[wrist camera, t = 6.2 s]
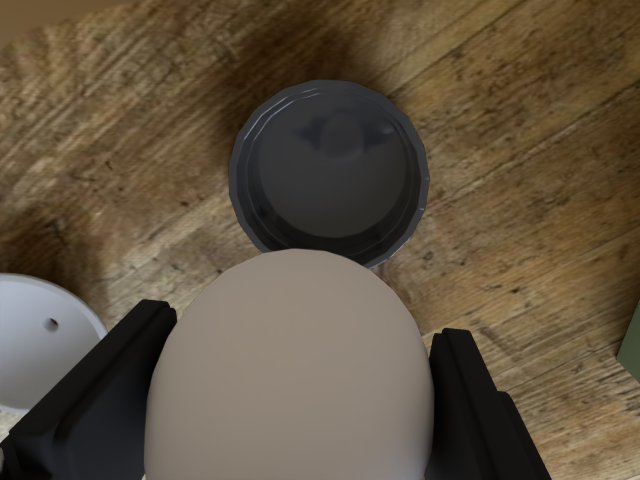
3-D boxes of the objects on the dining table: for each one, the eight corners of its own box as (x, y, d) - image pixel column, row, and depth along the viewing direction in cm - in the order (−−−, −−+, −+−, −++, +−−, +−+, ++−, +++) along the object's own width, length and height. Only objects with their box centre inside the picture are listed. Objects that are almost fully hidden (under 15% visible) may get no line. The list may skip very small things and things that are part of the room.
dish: (93, 227, 35) (53, 248, 30) (168, 355, 39) (143, 391, 34) (-58, 280, 38) (-115, 307, 33) (27, 393, 42) (-13, 431, 38)
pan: (240, 75, 29) (224, 73, 25) (432, 86, 28) (444, 85, 25) (244, 250, 34) (231, 270, 31) (406, 263, 34) (413, 284, 30)
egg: (390, 394, 13) (426, 743, 6) (215, 365, 13) (59, 671, 6) (432, 229, 11) (565, 486, 4) (221, 196, 11) (-10, 384, 4)
